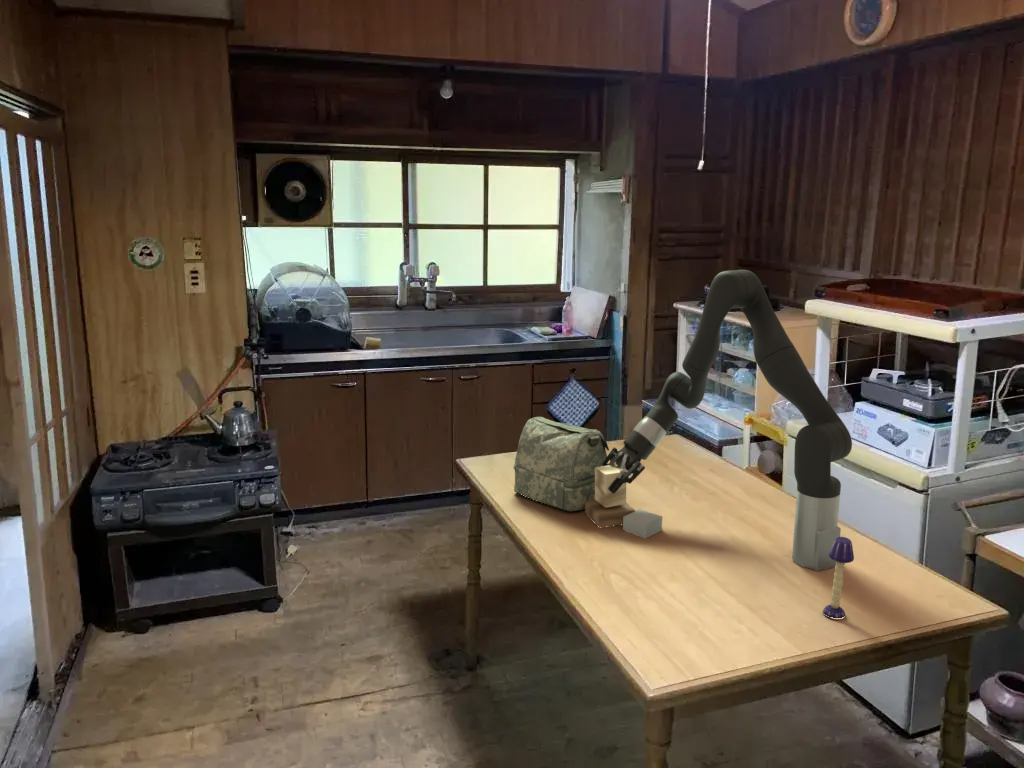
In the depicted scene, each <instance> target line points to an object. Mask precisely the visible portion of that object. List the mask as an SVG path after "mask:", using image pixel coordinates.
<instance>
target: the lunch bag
mask: <svg viewBox="0 0 1024 768" xmlns="http://www.w3.org/2000/svg"><path fill="white" fill-rule="evenodd" d="M520 433H521V434H520V437H519V440H518V446H517V450H516V454H515V455H516V456H515V458H514V464H513V470H514V487H513V488H514V489H513V490H514V493H515V492H517V493H519V494H522V495H524V496H526V497H529V498H532V499H534V500H537V501H538V502H541V503H540V504H543V503H544V504H543V505H546V504H547V505H546V506H549V505H551V506H550V507H553V506H554V507H553V508H556V507H557V509H559V508H560V510H562V509H563V510H562V511H565V510H566V512H576V511H583V510H585V501H591V500H595V467H601V466H603V465H602V463H603V462H604V460H605V459H606V458H607V456H608V454H607V453H608V452H607V451H609V452H610V449H609V446H608V442H607V440H606V439H605V436H603V434H602V432H601V431H600V430H598V429H596V428H595V429H591V428H586V427H581V426H578V425H573V424H570V423H562V422H557V421H554V420H550V419H548V418H545V417H543V416H535V417H532V418H529V419H528V420H527V421H526V423H525V425H524V426H523V428H522V431H521V432H520ZM517 493H516V494H517ZM519 494H518V495H519ZM526 497H525V498H526ZM534 500H533V501H534ZM538 502H537V503H538Z"/></svg>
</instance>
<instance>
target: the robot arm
mask: <svg viewBox="0 0 1024 768" xmlns="http://www.w3.org/2000/svg"><path fill="white" fill-rule="evenodd" d="M732 309H734V310H735V309H740V310H741V312H742V313H743V315H744V316H745V318H746V319H747V322H748V323H749V325H750V327H751V331H752V336H753V342H752V343H753V356H754V359H755V362H756V365H757V366H758V367H759V370H760V372H761V373H762V375H763V377H764V378H765V380H766V381H767V383H768V384H769V386H770V387H771V388H773V390H774V391H776V392H777V393H778V394H779V395H780V396H782V397H783V398H785V400H787V401H788V402H789V403H791V404H792V405H793V406H794V407H795V408H797V410H798V411H799V412H800V413H801V415H802V417H803V418H804V420H805V421H806V423H807V425H805V426H803V427H801V428H800V429H799V430H798V432H797V434H796V437H795V442H794V456H793V457H794V462H793V463H794V464H793V465H794V468H793V469H794V471H793V472H794V478H795V481H796V496H795V497H796V498H795V499H796V500H795V510H794V511H795V512H794V513H795V514H794V526H793V527H794V528H793V537H792V538H793V541H792V553H791V558H792V561H793V562H794V563H795V564H796V565H799V566H801V567H803V568H808V569H811V570H815V571H816V572H819V571H823V569H824V570H827V568H828V569H831V567H832V568H835V567H834V566H836V561H834V560H832V559H831V558H830V557H829V552H830V549H831V547H832V545H833V543H834V540H835V539H836V538H837V537H841V533H842V532H841V530H842V529H841V527H840V526H838V525H839V524H838V523H839V512H840V511H839V510H840V501H841V500H840V499H841V488H842V483H841V481H840V480H839V478H837V477H835V476H833V475H832V474H831V468H832V467H831V466H832V464H831V463H833V462H836V461H839V460H842V459H844V458H846V457H848V456H849V454H851V451H852V449H853V441H852V436H851V433H850V431H849V430H848V428H847V426H846V424H845V423H844V422H843V420H842V419H841V418H840V416H839V415H838V413H837V412H836V411H835V409H834V408H833V407H832V406H831V404H830V402H829V401H828V400H827V398H826V397H825V395H824V394H823V393H822V390H821V389H820V388H819V386H818V384H817V383H816V381H815V379H814V378H813V376H812V374H811V373H810V371H809V370H808V368H807V366H806V365H805V363H804V360H803V359H802V356H801V355H800V353H799V352H798V350H797V348H796V347H795V345H794V343H793V342H792V341H791V339H790V337H789V335H788V334H787V332H786V330H785V328H784V326H783V324H782V323H781V322H780V320H779V318H778V316H777V315H776V313H775V310H774V308H773V306H772V303H771V301H770V300H769V297H768V295H767V293H766V291H765V288H764V286H763V284H762V282H761V280H760V279H759V277H758V275H756V273H754V272H753V271H751V270H747V269H737V270H736V269H735V270H734V269H733V270H723V271H721V272H719V273H718V274H716V275H715V276H714V278H713V279H712V281H711V283H710V287H709V289H708V292H707V296H706V299H705V303H704V307H703V309H702V312H701V313H702V314H701V316H700V320H699V324H698V327H697V331H696V333H695V336H694V338H693V340H692V342H691V344H690V347H689V348H688V350H687V352H686V354H685V357H684V359H683V361H682V364H681V365H682V366H681V367H682V369H683V370H684V372H685V373H686V374H687V375H686V374H684V372H680V371H675V372H672V373H671V374H670V375H668V377H667V379H666V380H665V382H664V385H663V388H662V389H661V392H660V394H659V395H658V398H657V400H656V402H655V403H654V405H653V406H652V407H651V409H650V410H649V411H648V412H647V413H646V415H645V416H644V417H643V418H642V419H641V420H640V421H639V422H638V423H637V424H636V425H635V427H634V428H633V429H632V430H631V432H630V433H629V434H628V435H627V436H626V437H625V438H624V440H623V445H624V446H623V447H622V448H621V449H618V448H617V447H612V448H611V450H610V451H609V453H608V454H607V458H606V459H605V460H604V462H603V463H602V465H603V466H607V465H610V466H615V465H617V466H619V467H620V473H619V475H618V478H616V479H615V480H614V481H613V483H612V484H611V485H610V486H609V488H608V490H609V491H610V492H612V493H613V494H614V493H615V492H616V491H617V490H618V489H619V488H620V487H621V485H622V484H623V483H626V484H632V482H634V480H636V479H637V477H638V476H640V474H641V473H642V472H643V471H644V470H645V468H646V466H644V464H643V463H642V462H641V461H642V460H643V461H646V460H648V458H649V457H650V455H651V454H652V453H653V452H654V450H655V449H656V448H657V447H658V446H659V444H660V443H661V442H662V440H663V439H664V437H665V436H666V434H667V433H668V432H669V431H670V429H671V428H672V427H673V425H674V424H675V423H676V422H677V420H678V419H679V414H678V413H677V411H676V409H674V408H673V407H672V406H671V404H670V400H671V399H673V400H674V401H676V402H677V403H679V405H681V406H682V407H684V408H686V409H689V410H690V409H694V408H696V407H698V406H699V405H700V404H701V403H702V401H703V399H704V397H705V392H706V385H707V380H708V376H709V372H710V370H711V368H712V366H713V364H714V362H715V360H716V358H717V356H718V354H719V351H720V346H721V338H720V337H721V336H720V335H721V328H722V324H723V322H724V319H725V318H726V316H727V315H728V314H729V313H730V311H731V310H732ZM624 473H625V475H623V474H624Z"/></svg>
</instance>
